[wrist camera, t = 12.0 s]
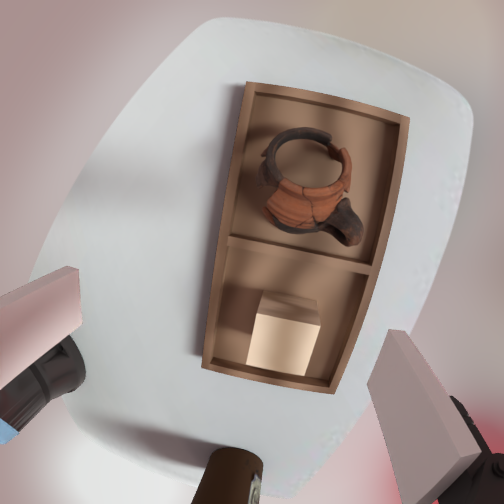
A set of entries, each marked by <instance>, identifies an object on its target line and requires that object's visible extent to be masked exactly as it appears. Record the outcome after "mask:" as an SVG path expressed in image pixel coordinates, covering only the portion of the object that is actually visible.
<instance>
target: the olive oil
mask: <svg viewBox="0 0 504 504" xmlns="http://www.w3.org/2000/svg"><path fill="white" fill-rule="evenodd" d="M262 472H263V462H262V461H261V459H260V458H259V457H258V456H256V455H255V454H253V453H251V452H249V451H246V450H242V449H237V448H222V449H218V450H216V451H214V452H213V453H212V454H211V456H210V459H209V461H208V464H207V467H206V469H205V472H204V474H203V477H202V479H201V482H200V484H199V486H198V489H197V491H196V494H195V496H194V498H193V500H192V503H191V504H259V498H260V489H261V480H262Z"/></svg>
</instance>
